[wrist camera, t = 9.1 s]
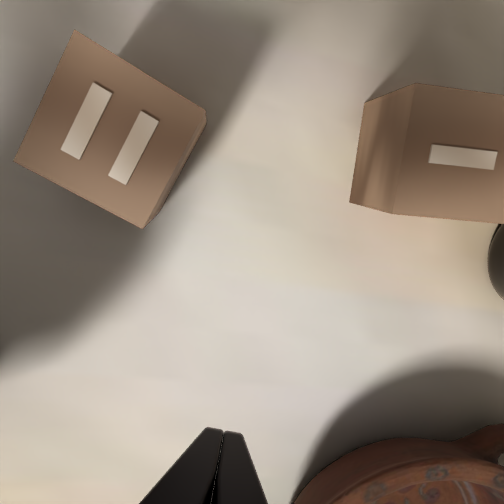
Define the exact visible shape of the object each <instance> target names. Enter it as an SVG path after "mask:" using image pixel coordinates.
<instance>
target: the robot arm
mask: <svg viewBox="0 0 504 504" xmlns="http://www.w3.org/2000/svg"><path fill="white" fill-rule="evenodd" d="M223 434H224V435H223ZM222 439H223V441H222ZM221 445H222V446H221ZM220 450H221V452H220ZM219 456H220V457H219ZM218 461H219V462H218ZM217 467H218V468H217ZM216 472H217V473H216ZM215 477H216V479H215ZM214 483H215V484H214ZM213 488H214V490H213ZM212 494H213V495H212ZM211 499H212V501H211ZM139 504H268V503H267V500H266V497H265V494H264V492H263V489H262V486H261V483H260V481H259V478H258V475H257V472H256V470H255V467H254V464H253V461H252V459H251V456H250V453H249V451H248V448H247V445H246V442H245V440H244V437H243V435H242V434H241V433H237V432H232V431H225V432H223V430H221V429H216V428H211V427H207V428H205V429H204V430H203V431H202V432H201V433H200V435H199V436H198V437H197V438H196V439H195V440H194V441H193V443H192V444H191V445H190V446H189V447H188V448H187V449H186V451H185V452H184V453H183V454H182V455H181V456H180V457H179V459H178V460H177V461H176V462H175V463H174V464H173V465H172V467H171V468H170V469H169V470H168V471H167V472H166V473H165V475H164V476H163V477H162V478H161V479H160V480H159V481H158V483H157V484H156V485H155V486H154V487H153V488H152V489H151V491H150V492H149V493H148V494H147V495H146V496H145V497H144V499H143V500H142V501H141V502H140V503H139Z"/></svg>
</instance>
